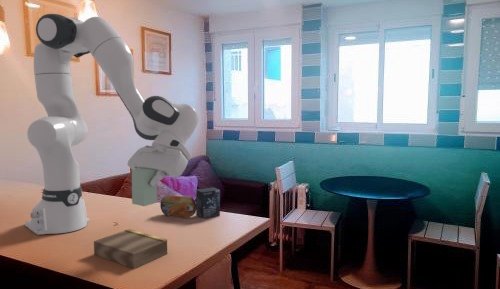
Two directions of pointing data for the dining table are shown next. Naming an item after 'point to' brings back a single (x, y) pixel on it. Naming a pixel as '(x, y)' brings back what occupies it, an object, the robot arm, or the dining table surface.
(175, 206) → the tin
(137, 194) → the block
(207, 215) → the box
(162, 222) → the dining table surface
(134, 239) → the block
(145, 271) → the dining table surface
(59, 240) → the dining table surface
